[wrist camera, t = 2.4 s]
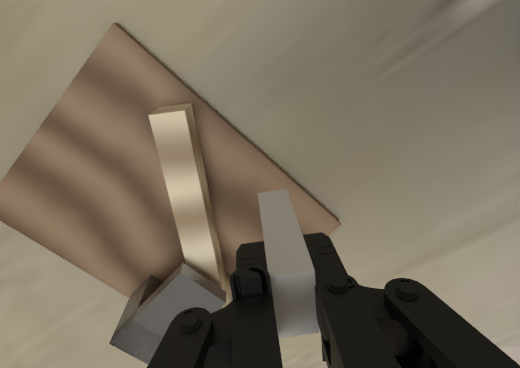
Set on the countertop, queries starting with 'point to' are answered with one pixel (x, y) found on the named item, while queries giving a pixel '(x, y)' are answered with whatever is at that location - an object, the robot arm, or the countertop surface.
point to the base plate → (135, 174)
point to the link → (189, 191)
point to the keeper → (162, 309)
